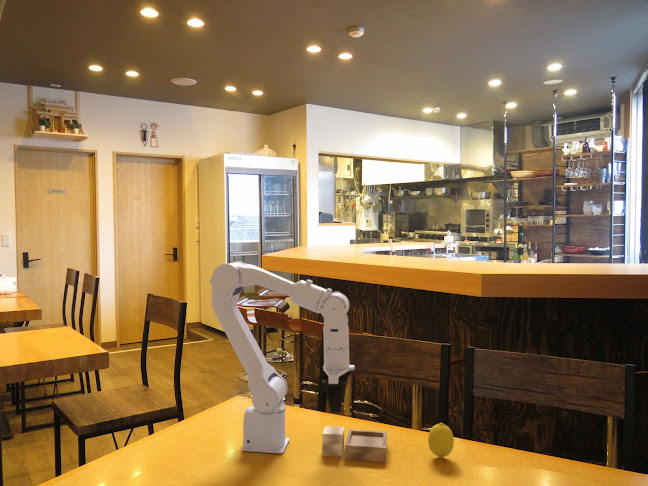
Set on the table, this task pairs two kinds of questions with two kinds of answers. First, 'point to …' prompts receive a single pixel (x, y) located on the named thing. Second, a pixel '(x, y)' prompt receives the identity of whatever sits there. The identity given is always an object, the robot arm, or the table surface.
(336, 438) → the block
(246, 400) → the table surface
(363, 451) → the tray
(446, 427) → the lemon
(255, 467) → the table surface
